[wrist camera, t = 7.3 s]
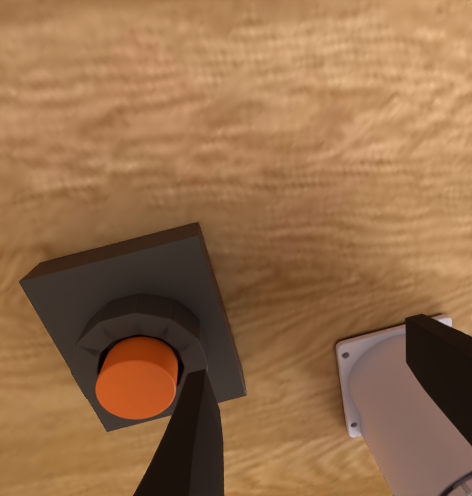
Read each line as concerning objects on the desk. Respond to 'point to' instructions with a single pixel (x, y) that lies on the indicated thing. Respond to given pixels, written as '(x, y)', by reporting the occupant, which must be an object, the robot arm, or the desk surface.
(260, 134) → the desk surface
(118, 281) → the button block
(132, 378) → the button
